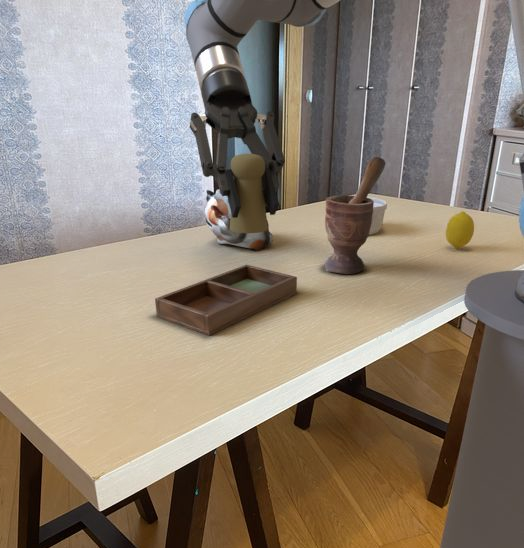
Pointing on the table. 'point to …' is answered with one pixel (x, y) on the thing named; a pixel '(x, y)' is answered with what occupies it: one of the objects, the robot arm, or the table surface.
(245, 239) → the lucky cat figurine
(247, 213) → the olive pepper mill
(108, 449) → the table surface
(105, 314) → the table surface
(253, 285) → the divided wooden tray
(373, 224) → the ramekin
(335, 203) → the mortar and pestle
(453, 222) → the lemon
